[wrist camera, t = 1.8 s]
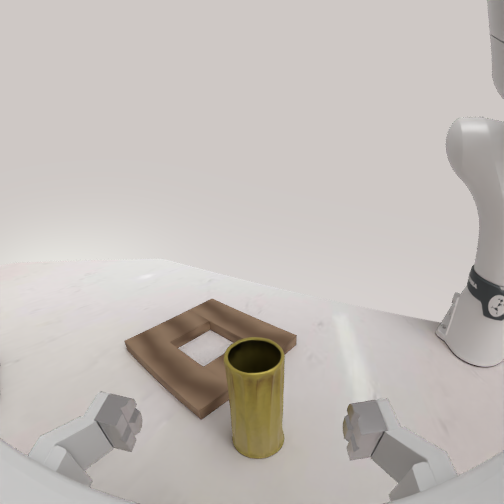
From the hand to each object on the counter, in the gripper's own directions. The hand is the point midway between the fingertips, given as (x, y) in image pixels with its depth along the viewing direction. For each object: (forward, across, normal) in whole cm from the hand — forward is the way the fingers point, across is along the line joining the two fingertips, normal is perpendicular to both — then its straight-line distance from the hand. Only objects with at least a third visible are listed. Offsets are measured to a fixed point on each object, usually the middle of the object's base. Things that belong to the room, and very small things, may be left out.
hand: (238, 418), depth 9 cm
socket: (+31, +8, +20) cm, 38 cm away
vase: (+13, 0, +21) cm, 25 cm away
